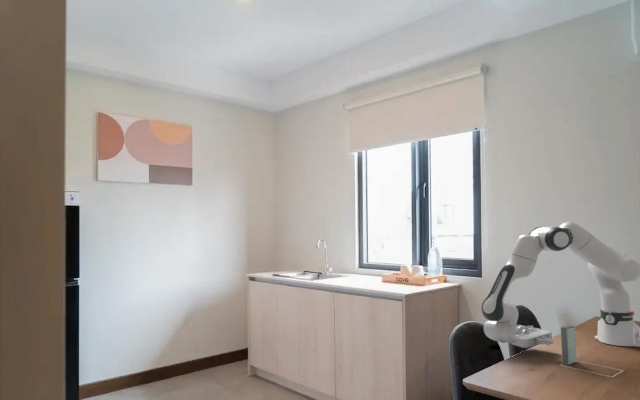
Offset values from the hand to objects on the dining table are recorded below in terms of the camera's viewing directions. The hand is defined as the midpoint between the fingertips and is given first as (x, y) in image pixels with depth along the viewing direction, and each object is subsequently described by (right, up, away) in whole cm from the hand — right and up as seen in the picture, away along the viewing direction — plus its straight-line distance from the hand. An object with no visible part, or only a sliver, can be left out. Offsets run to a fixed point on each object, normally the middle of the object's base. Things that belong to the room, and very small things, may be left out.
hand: (550, 342), depth 178 cm
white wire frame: (+8, -6, -13) cm, 17 cm away
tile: (+4, -6, -6) cm, 9 cm away
